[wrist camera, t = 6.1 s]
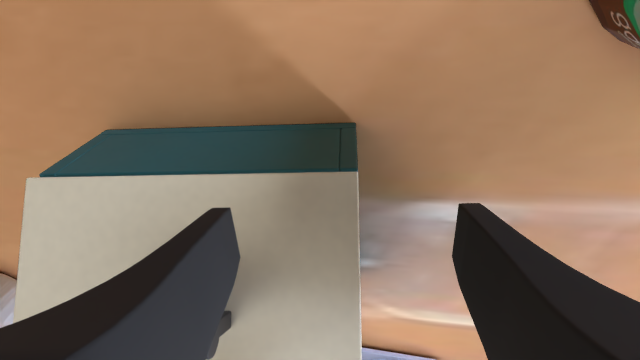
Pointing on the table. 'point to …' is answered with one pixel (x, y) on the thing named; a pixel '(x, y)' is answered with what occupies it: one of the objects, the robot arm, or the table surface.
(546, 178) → the table surface
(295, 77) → the table surface
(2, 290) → the ramekin
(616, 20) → the food container
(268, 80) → the table surface
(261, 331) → the lid
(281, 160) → the cool box
